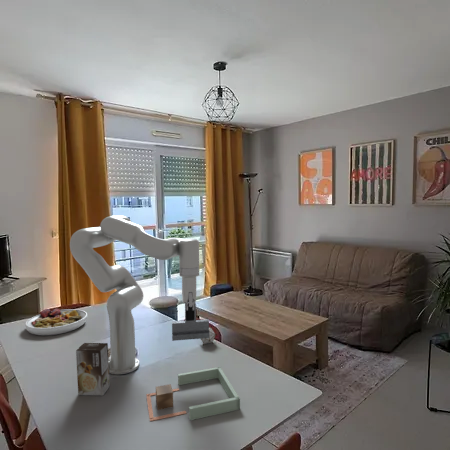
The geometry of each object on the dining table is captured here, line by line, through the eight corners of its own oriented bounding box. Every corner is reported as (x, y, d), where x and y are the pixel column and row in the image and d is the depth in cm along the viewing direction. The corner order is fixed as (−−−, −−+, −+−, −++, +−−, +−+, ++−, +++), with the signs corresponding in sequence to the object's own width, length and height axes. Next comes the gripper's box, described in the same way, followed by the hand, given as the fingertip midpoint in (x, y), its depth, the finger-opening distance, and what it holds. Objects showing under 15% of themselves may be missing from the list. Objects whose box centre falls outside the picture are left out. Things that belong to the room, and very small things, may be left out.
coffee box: (110, 385, 115) (109, 342, 115) (102, 396, 109) (101, 350, 108) (85, 385, 116) (84, 342, 115) (76, 395, 109) (75, 350, 109)
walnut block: (157, 410, 101) (157, 395, 101) (155, 401, 106) (155, 386, 106) (173, 407, 103) (172, 392, 102) (170, 398, 108) (170, 384, 107)
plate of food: (99, 322, 179) (98, 309, 179) (46, 342, 154) (45, 326, 153) (67, 314, 195) (66, 301, 194) (14, 330, 169) (13, 316, 169)
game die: (210, 352, 149) (213, 341, 143) (194, 345, 150) (196, 333, 144) (217, 337, 156) (220, 326, 150) (201, 330, 157) (204, 318, 151)
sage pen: (190, 420, 96) (189, 409, 96) (178, 383, 116) (177, 374, 116) (240, 409, 101) (239, 398, 101) (220, 375, 121) (220, 366, 121)
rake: (209, 337, 121) (209, 304, 120) (172, 340, 118) (171, 306, 118) (208, 334, 124) (208, 301, 124) (172, 336, 122) (171, 303, 121)
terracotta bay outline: (149, 421, 96) (149, 420, 96) (146, 394, 109) (146, 394, 109) (186, 413, 99) (186, 412, 99) (178, 388, 113) (178, 388, 113)
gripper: (178, 267, 128) (179, 312, 129) (180, 276, 112) (180, 327, 113) (197, 267, 129) (197, 311, 130) (201, 275, 113) (201, 326, 114)
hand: (189, 318), depth 122 cm, fingers closed on rake, 2 cm apart
